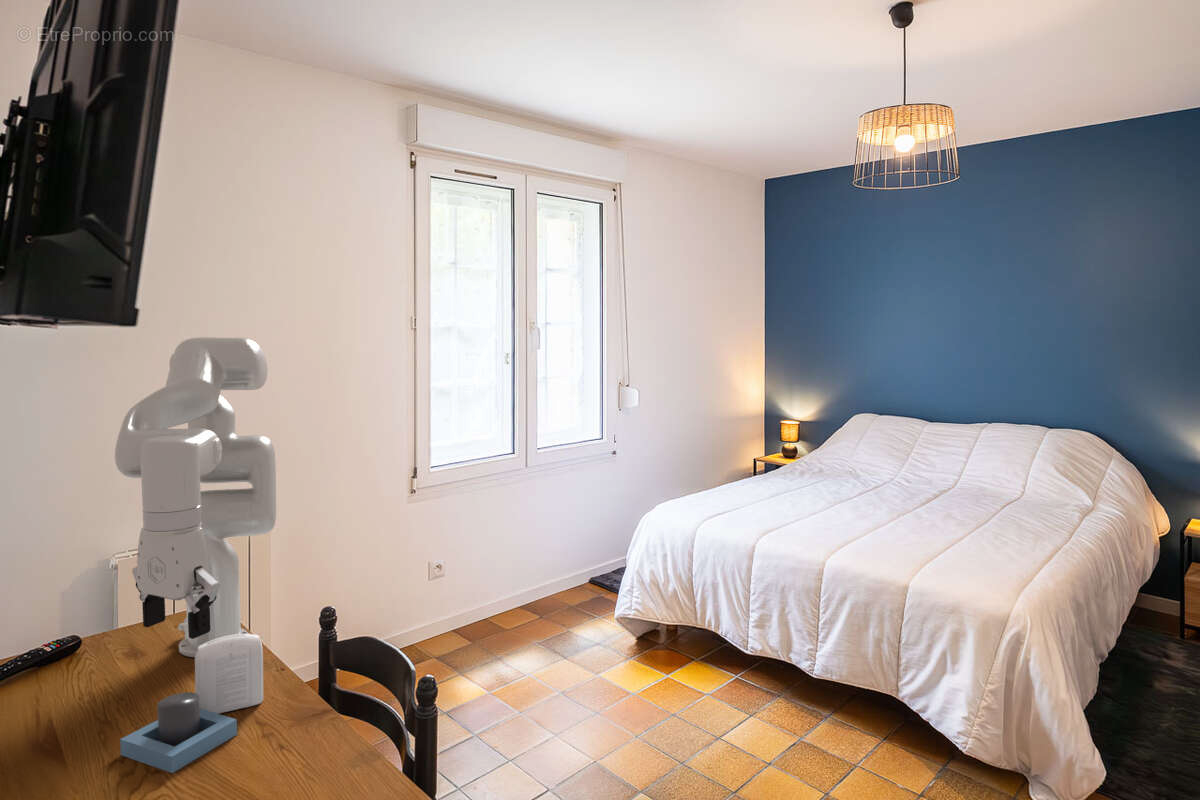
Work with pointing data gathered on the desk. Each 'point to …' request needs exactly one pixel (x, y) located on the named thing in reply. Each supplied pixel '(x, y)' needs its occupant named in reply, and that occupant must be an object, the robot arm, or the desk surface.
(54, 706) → the desk surface
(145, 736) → the collar
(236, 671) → the photo printer
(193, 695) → the dark grey cylinder
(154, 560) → the robot arm
